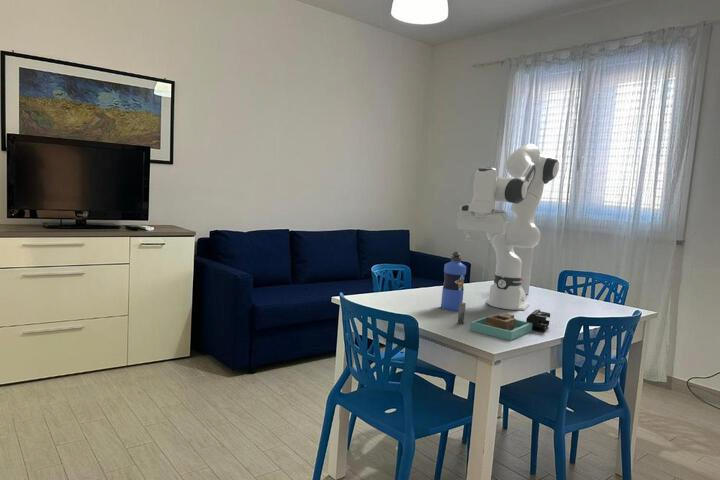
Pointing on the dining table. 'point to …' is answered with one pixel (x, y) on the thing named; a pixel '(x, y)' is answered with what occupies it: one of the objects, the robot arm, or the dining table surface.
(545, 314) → the black blocky piece
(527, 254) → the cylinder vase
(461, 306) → the stake
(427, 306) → the dining table surface
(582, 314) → the dining table surface
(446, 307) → the water bottle
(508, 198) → the robot arm
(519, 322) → the tray
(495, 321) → the wooden box
